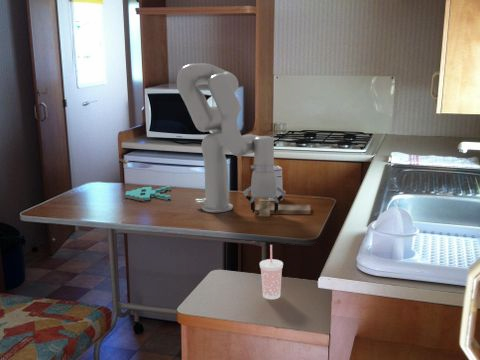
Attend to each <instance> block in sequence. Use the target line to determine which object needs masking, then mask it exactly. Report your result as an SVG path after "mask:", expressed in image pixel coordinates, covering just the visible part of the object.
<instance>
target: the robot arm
mask: <svg viewBox="0 0 480 360" xmlns="http://www.w3.org/2000/svg"><path fill="white" fill-rule="evenodd" d="M177 73H178V74H177V77H176V87H177V91H178V93H179V95H180V97H181V98H182V100H183V102H184V105H185V106H186V108H187V109H186V110H187V111H188V113H189V116H190V117H191V120H192V122H193V124H194V126H195V128H196V129H197V130H198V131H200V132H203V133H205V132H210V131H211V133H208V134H207V135H205V136H204V137H203V139H202V140H201V141H202V142H201V145H200V146H201V152H202V157H203V165H204V166H203V167H204V187H205V188H204V189H205V190H204V191H205V193H204V194H205V197H204V198H195V202H194V203H195V204H197V205H202V207H201V208H202V210H203V211H204V212H207V213H215V214H216V213H225V212H229V211H231V210H233V206H234V205H233V204H232V203H230V202H229V201H230V199H229V197H230V196H229V195H230V194H229V193H230V192H229V167H228V161H227V158H226V154H228V153H232V155H233V156H236V157H238V158H239V157H244V156H246V155H251V154H253V155H254V156H253V157H254V158H253V160H254V161H253V163H254V164H252V165H250V169H251V170H253V171H252V172H251V173H252V174H251V180H250V181H251V182H250V183H251V184H250V186H249V187H247V188H246V189H245V190H243V192H242V193H243V196H245V198H246V200H247V201H249V203H250V210H251V211H252V213H253V214H255V207H256V202H255V199H268V198H273V199H274V200H275V201H274V204H273V205H274V212H275V213H276V210H278V205H279V202H280V201H282V200H281V199H282V198H284V196H285V195H286V193H287V192H286V191H285V190H284V189H281V188H280V187H278V186H277V177H276V172H275V171H274V166H275V155H274V153H275V151H274V150H275V148H274V147H275V146H274V145H275V144H274V143H275V142H274V141H275V140H274V138H273V137H272V136H269V135H257V134H253V133H249V134H248V133H247V134H243V135H242V133H241V131H240V129H239V125H238V116H239V114H240V112H241V110H242V105H241V104H240V102H239V100H238V98H237V95H236V91H237V90H238V89H239V80H238V78H237V76H236V75H234V74H233V73H232V72H230V71H227V70H224V69H223V68H220V67H218V66H216V65H213V64H211V63H205V62H203V63H189V64H186V65H184V66H182V67H181V68H180V69H179V71H178V72H177ZM202 85H206V86H207V87H208V91H209V92H210V94H211V96H212V100H213V101H214V103H215V105H216V106H210V104H209V102H208V100H207V98H206V96H205V94H204V93H203V92H202V91H201V89H200V88H199V87H198V86H202ZM277 190H278V191H279V192H281V195H280V196H279V197H277ZM249 192H250V194H248V193H249ZM250 195H251V196H250Z"/></svg>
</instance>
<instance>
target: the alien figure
mask: <svg viewBox="0 0 480 360" xmlns="http://www.w3.org/2000/svg"><path fill="white" fill-rule="evenodd" d="M166 189H172V188H171V185H167V186H166V185H165V187H164V186H163V187H160V188H156V189H153V187H152V186H144V187H143V186H142V187H141V188H139V187H138V188H136V189H131V190H127V191H126V192H125V196H130V197H135V198H139V199H145V200H148V199H149V200H150V201H151V197H150V196H155V197H160V198H165V199H170V200H171V195H170V194H164V193H163V194H162V192H161V191H166ZM156 192H161V193H156ZM166 192H167V191H166ZM155 197H154V198H155ZM160 198H159V199H160ZM165 199H164V200H165Z"/></svg>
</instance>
